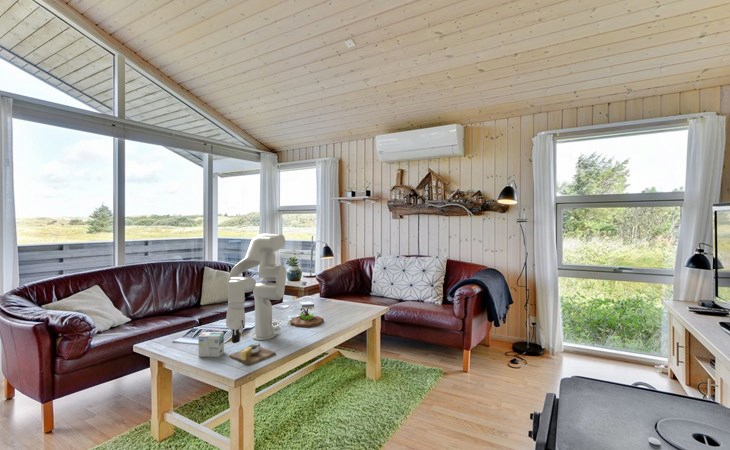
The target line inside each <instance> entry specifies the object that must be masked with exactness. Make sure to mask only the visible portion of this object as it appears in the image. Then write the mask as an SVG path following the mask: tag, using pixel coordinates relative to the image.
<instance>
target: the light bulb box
mask: <svg viewBox="0 0 730 450" xmlns="http://www.w3.org/2000/svg"><path fill="white" fill-rule="evenodd" d="M224 334H225V333H224V331H204V332H203V331H202V333H201V334H200V335H198V336H197V337H198V339H197V340H198V357H199V358H203V357H204V358H209V357H210V358H213V357H214V358H217V357H218V358H219V357H221V356H222V354H224V353H225V339H224V338H225V335H224Z"/></svg>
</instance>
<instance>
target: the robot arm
mask: <svg viewBox="0 0 730 450" xmlns="http://www.w3.org/2000/svg"><path fill="white" fill-rule="evenodd" d="M285 244H286V238H285V236H284V235H283V233H282V234H281V233H258V234H256V236H253V238H252V239H251V241H250V243H249V246H248V249H247V251H246V254H245V257H244V258H243V259H242V260H240V261H239V262H238V263H236V264H235V265H234V266H233V267H232V268H231V270H230V272H229V274H228V277H227V280H226V289H228V290H227V293H228V296H227V298H228V299H227V301H228V302H227V311H226V316H225V317H226V319H225V326H226V327H227V328H228V329H229V330H230V331H231V343H233V344H237V343H240V342H241V341H240V338H241V337H240V336H241V333H243V332H244V329H245V327H246V313H245V312H246V311H245V295H246V294H245V293H251V292H252V291H253V292H252V293H253V298H254V333H253V334H252V335H251V337H252V339H253V340H257V341H267V340H270V339H273V338H274V337H275V336H276V335H275V331H277V330H279V326H273V304H272V302H271V301H272V300H273V301H274V300H275V301H279V300H282V299H283V297H284V296H285V288H286V279H287V270H286V266H285V265H283V264H280V263H279V264H276V254H275V252H277V251H279V250H281V249H282V248H284V246H285ZM258 266H259V267H258ZM255 267H258V273H257V274H258V278H259V279H260V280H262V281H261V282H258V283H257V282H256V279H255V278H254V277H252V276H251V277H250V276H240V275H241V274H242V273H244V272H245V271H249V270H251V269H253V268H255ZM263 281H264V282H263ZM265 281H273V282H265ZM274 281H275V282H274Z"/></svg>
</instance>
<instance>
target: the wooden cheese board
mask: <svg viewBox="0 0 730 450" xmlns="http://www.w3.org/2000/svg"><path fill="white" fill-rule="evenodd" d="M248 346H249V347H252V348H256V347H257V345H256V344H255V343H254V344H249V345H248ZM243 350H244V349H241V350H238V351H236V352H235V351H234V352H233V353H230V354H229V358H231V359H234V360H236V361H238V362H240V363H242V362H243V364H245V365H247V366H251V364H252V365H253V364H256V363H259V362H261V361H265V360H267V359H269V358H271V357H274V356H276V353H277V352H276V351H273V350H270V349H267V348H264V347H261V346H260V349H259V353H258V354H256V355H252V356H250V357H249V358H248V359H247V360H241V352H242V351H243Z"/></svg>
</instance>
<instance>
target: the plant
mask: <svg viewBox="0 0 730 450" xmlns="http://www.w3.org/2000/svg"><path fill="white" fill-rule="evenodd" d="M309 310H312V306H308V307H307V308H306V309H305V308H304V307H301V308H300V309H299V311H301V312H300V313H299V316H296V317H294V318H292V319H291V320H290V323H289V324H290V326H293V327H295V328H304V329H311V328H316V327H318V326H321V325H323V324H322V323H324V318H322V317H320V316H318V315H315V313H311V312H309ZM314 315H315V316H314Z"/></svg>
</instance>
